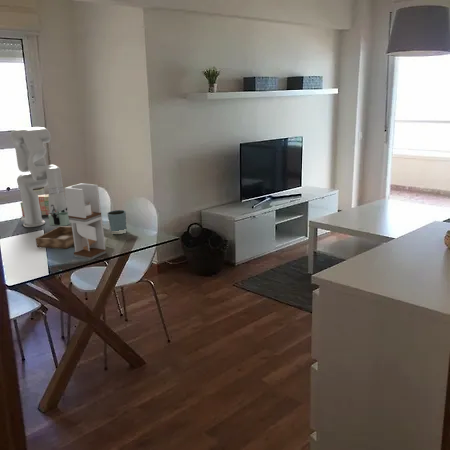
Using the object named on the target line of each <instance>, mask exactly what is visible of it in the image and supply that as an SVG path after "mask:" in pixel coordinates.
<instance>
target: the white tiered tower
mask: <svg viewBox="0 0 450 450" xmlns="http://www.w3.org/2000/svg"><path fill="white" fill-rule="evenodd" d="M63 189H64V194H65V198H66V203H67V212H68V217H69V222H70V223H71V224H70V225H71V227H72V232H73V239H74V245H73V246H74V250H75V251H74V252H73V257H75V258H80V259H84V260H89V261H90V260H91V261H92V260H93V259H96V258H97V257H98V258H99V257H100V256H102V255H105V254H107V250H106V242H105V241H106V239H105V233H104V225H103V216H102V210H101V199H100V193H99V185H98V184H92V183H81V182H80V183H78V184H73V185H69V186H67V187H63Z"/></svg>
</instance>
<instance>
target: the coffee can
mask: <svg viewBox="0 0 450 450" xmlns="http://www.w3.org/2000/svg"><path fill="white" fill-rule="evenodd" d="M33 191H34V192H36V193H37V195H46V193H45V192H46V191H45V187H40V188H35V189H33Z"/></svg>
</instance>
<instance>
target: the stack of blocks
mask: <svg viewBox="0 0 450 450" xmlns="http://www.w3.org/2000/svg"><path fill="white" fill-rule="evenodd" d="M38 198H39V204H40V210H41V216H46V215H47V216H48V215H49V214H50V213H49V212H50V210H49V200H48V198H49V193H48V194H46V193H45V195H38ZM20 207H21V214H22V217H25V215H24V209H23V203H22V201H21V202H20ZM55 212H56V211H55Z"/></svg>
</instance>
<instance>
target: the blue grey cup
mask: <svg viewBox="0 0 450 450" xmlns="http://www.w3.org/2000/svg"><path fill="white" fill-rule="evenodd" d="M126 215H127V212H126V210H124V209H123V210H122V209H119V210H118V209H115V210H111V211H108V212H107V218H108V221H109V227H110V232H111V231H119V230H124V229H128V228H127V227H128V226H127V216H126Z"/></svg>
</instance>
